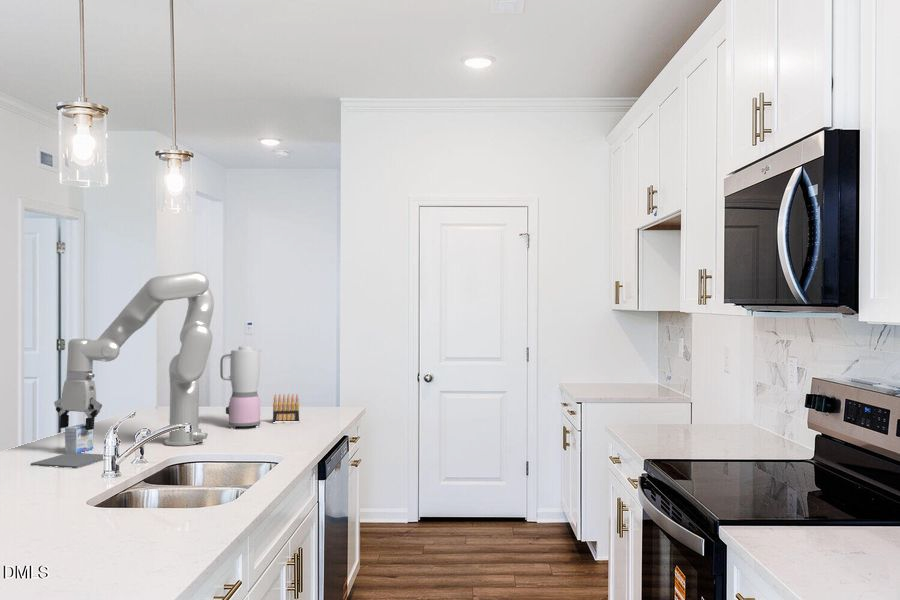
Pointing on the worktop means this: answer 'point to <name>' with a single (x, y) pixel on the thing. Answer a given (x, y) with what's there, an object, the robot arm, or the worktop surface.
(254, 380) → the blender
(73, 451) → the medicine box
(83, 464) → the mat
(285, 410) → the ammunition clip
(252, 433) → the worktop surface
